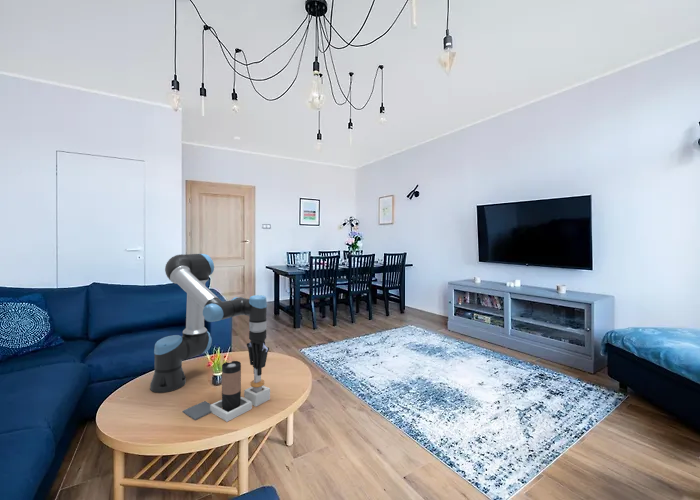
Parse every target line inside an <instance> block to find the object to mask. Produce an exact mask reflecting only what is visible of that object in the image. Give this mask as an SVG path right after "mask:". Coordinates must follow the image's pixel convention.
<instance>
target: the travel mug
mask: <svg viewBox="0 0 700 500" xmlns="http://www.w3.org/2000/svg"><path fill="white" fill-rule="evenodd" d="M241 394H242V363H241V361H238V360H232V361H231V362H227V361H226V362H223V364H222V365H221V400H222V408H221V409H223V410H225V411H227V412H229V411H231V410H233V409H235V408H237V407H239V406H241V405H240V399H241V397H242V396H241Z"/></svg>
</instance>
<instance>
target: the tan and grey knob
mask: <svg viewBox="0 0 700 500" xmlns="http://www.w3.org/2000/svg"><path fill="white" fill-rule="evenodd" d="M249 386H250V387H253V392H255V393H258V392H260V391H262V386H265V380H264V379H262V378H261V381H260V382H258V383H255V382H254V379H253V380H251V381H250V385H249Z"/></svg>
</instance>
